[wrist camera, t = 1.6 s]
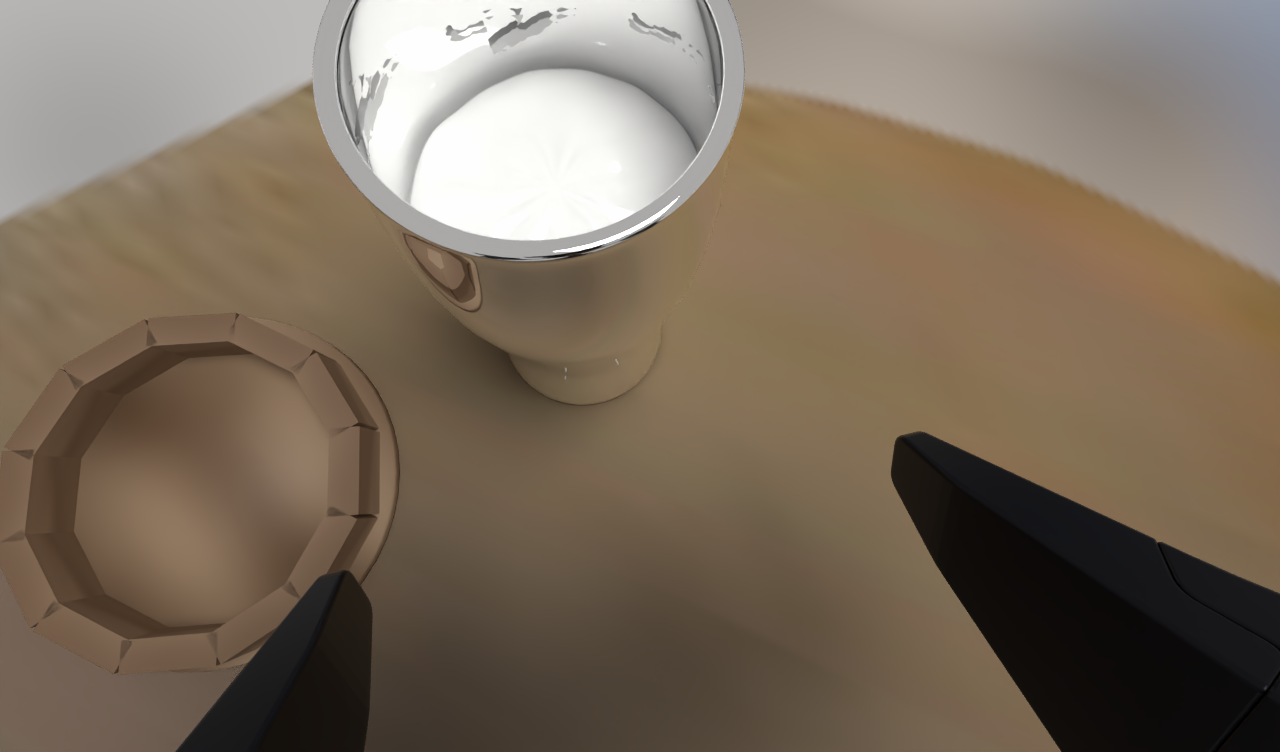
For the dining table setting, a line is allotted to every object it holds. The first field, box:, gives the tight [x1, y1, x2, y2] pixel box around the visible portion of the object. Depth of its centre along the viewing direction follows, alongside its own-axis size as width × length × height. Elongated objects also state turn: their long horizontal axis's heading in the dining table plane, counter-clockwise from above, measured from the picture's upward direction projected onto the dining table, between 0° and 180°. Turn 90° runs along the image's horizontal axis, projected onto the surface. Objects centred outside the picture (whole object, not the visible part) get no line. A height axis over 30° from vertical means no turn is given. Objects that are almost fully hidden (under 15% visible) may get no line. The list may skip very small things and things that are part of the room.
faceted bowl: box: [0, 313, 400, 675], centre depth 21 cm, size 12×12×2 cm
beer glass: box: [312, 0, 745, 405], centre depth 17 cm, size 7×7×15 cm
